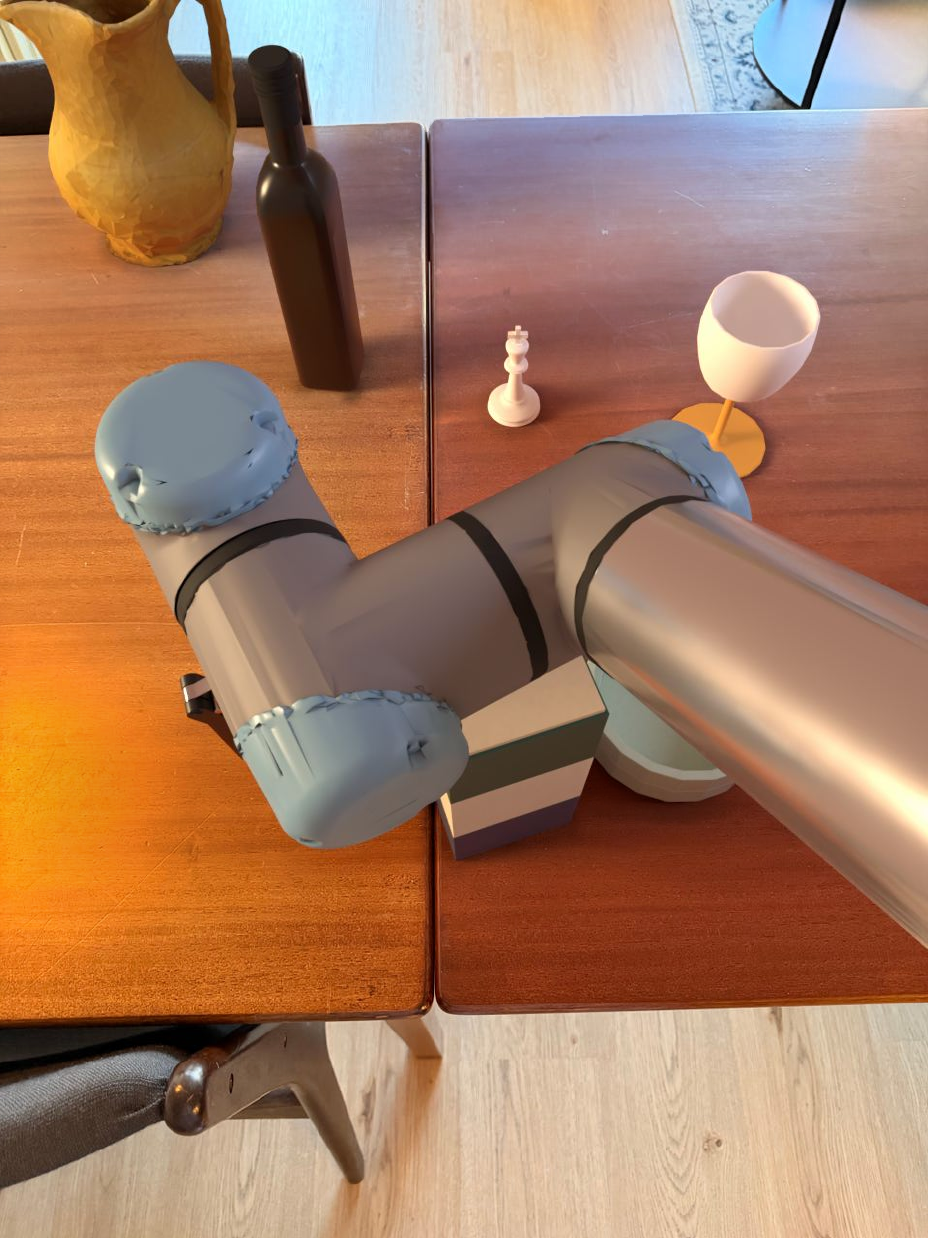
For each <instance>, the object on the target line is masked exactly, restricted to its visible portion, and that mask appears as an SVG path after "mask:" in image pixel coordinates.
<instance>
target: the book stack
mask: <svg viewBox="0 0 928 1238" xmlns="http://www.w3.org/2000/svg"><path fill="white" fill-rule="evenodd" d="M582 656H583V655H582ZM583 658H584V661H585V663H586V665H587V668H588V670H589V672H590V674H591V677H592V679H593V681H594V684H595V686H596V688H597V690H598V693H599V695H600V697H601V700H602V702H603V704H604V707H605V712H602V713H599V714H596V715H593V716H590V717H587V718H584V719H581V720H578V721H575V722H572V723H569V724H566V725H562V726H559V727H556V728H553V729H550V730H547V731H544V732H541V733H538V734H535V735H532V736H529V737H526V738H523V739H519V740H516V741H513V742H510V743H507V744H504V745H501V746H498V747H495V748H492V749H489V750H486V751H483V752H480V753H476V754H473V755H470V756H469V759H468V762H467V765H466V767H465V770H464V772H463V774H462V775H461V776H460V778H459V779H458V780H457V782H456V783H455V784H454V785H453V786H452V788H451V789H450V790H448V791H447V792H446V793H445V794H444V795H443V796H442V797H441V798H439V799H438V800H436V801H435V802H436V805H437V808H438V812H439V814H440V817H441V821H442V824H443V827H444V830H445V833H446V836H447V840H448V842H449V845H450V848H451V852H452V855H453V857H454V861H455V862H458V861H459V862H460V861H461V860H464V859H467V858H470V857H473V856H476V855H478V854H479V855H480V854H482V853H485V852H488V851H491V850H494V849H497V848H499V847H502V846H505V845H509V844H511V843H514V842H517V841H520V840H522V839H523V840H524V839H526V838H529V837H532V836H535V835H537V834H540V833H543V832H546V831H550V830H553V829H555V828H558V827H560V826H564V825H566V824H567V825H568V824H569V823H571V822H572V820H573V817H574V814H575V811H576V810H577V809H576V808H577V805H578V803H579V800H580V798H581V795H582V792H583V789H584V786H585V783H586V780H587V778H588V775H589V772H590V769H591V766H592V764H593V761H594V758H595V757H594V756H595V753H596V750H597V748H598V745H599V742H600V739H601V737H602V734H603V731H604V728H605V725H606V723H607V720H608V717H609V712H608V709H607V707H606V705H605V702H604V700H603V698H602V696H601V693H600V691H599V689H598V686H597V684H596V682H595V680H594V677H593V675H592V673H591V670H590V668H589V666H588V664H587V662H588V660H587V658H585V657H584V656H583Z"/></svg>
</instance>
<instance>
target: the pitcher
mask: <svg viewBox="0 0 928 1238" xmlns="http://www.w3.org/2000/svg"><path fill="white" fill-rule="evenodd" d="M181 1H182V0H0V19H1V20H3V21H5V22H6V23H8V24H10V25H12V26H13V27H15V28H16V29H17V30H19V31H20V33H22V34H23V35H24V36H25V37H26V38H27V39H28V40H30V42H31V43H32V44H33V45H34V47H35V48H36V50H37V51H38V53H39V54H40V56H41V58H42V59H43V61H44V63H45V65H46V68H47V70H48V73H49V75H50V78H51V81H52V85H53V89H54V105H53V107H54V108H53V112H52V117H51V122H50V126H49V127H50V128H49V134H48V138H49V139H48V153H47V155H48V160H49V166H50V170H51V173H52V177H53V179H54V181H55V183H56V186H57V187H58V190H59V192H60V195H61V197H62V199H64V200H65V201H66V202H67V204H68V206H69V208H70V209H71V210H72V212H73V213H74V214H75V215H76V216H77V217H78V218H79V219H80V220H81V221H82V222H84V223H87V224H88V225H91V226H92V227H94V228H95V229H96V230H99V231H100V232H101V233H104V234H105V238H104V240H105V242H106V243H105V245H106V247H107V249H108V251H109V253H110V254H112V255H114V256H115V257H118V258H121V259H122V260H123V261H126V263H127V262H128V263H132V264H135V265H140V266H141V265H142V266H144V267H148V268H153V267H157V268H158V267H162V266H174V265H175V264H176V265H183V264H184V263H188V262H193V261H194V260H196V259H197V258H198V257H199V256H201V255H202V254H203V253H206V252H207V251H208V249H209V248H211V247H212V245H215V244H216V241H217V239H218V237H219V235H220V233H221V231H222V227H223V225H224V221H223V220H224V217H223V214H224V213H225V211H226V209H227V205H228V203H229V199H230V195H231V192H232V188H233V175H232V172H233V168H234V163H235V157H234V148H235V138H236V135H237V133H238V127H237V125H238V120H237V111H236V104H235V99H234V93H235V87H236V84H235V81H234V76H233V54H232V49H231V41H230V35H229V29H228V25H227V17H226V15H225V11H224V6H223V2H222V0H195V1H196V2H197V3H198V4H200V5H201V6H202V9H203V14H204V18H205V21H206V25H207V35H208V40H209V49H210V63H211V64H210V65H211V66H210V67H211V81H212V94H213V99H207V98H206V97H205V96H204V95H203V94H202V93H201V92H200V91H198V90H197V88H196V87H195V86H194V84H192V83H191V81H189V80H188V78H187V77H186V76H185V74H184V73H183V71H182V69H181V68H180V66H179V65H178V64H179V63H177V61H176V58H175V55H174V53H173V49H172V47H171V45H170V42H169V29H170V21H171V19H172V18H173V16H174V14H175V12H176V9H177V7H178V6H179V4H180V2H181Z"/></svg>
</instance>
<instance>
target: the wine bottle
mask: <svg viewBox="0 0 928 1238" xmlns="http://www.w3.org/2000/svg"><path fill="white" fill-rule="evenodd" d="M247 65H248V69H249V70H248V71H249V73H250V75H251V81H252V88H253V91H254V93H255V95H256V96H257V99H258V105H259V109H260V115H261V118H262V123H263V127H264V132H265V136H266V141H267V145H268V151H269V152H268V154H267V155H266V156H265V158H264V161H263V163H262V166H261V169H260V171H259V172H258V176H257V181H256V185H255V205H256V215H257V217H258V223H259V226H260V230H261V234H262V237H263V241H264V245H265V250H266V254H267V258H268V262H269V265H270V269H271V274H272V277H273V281H274V286H275V289H276V293H277V297H278V300H279V305H280V310H281V314H282V317H283V321H284V325H285V329H286V332H287V336H288V340H289V345H290V349H291V352H292V353H291V354H292V356H293V361H294V364H295V367H296V373H297V376H298V381H299V383H300V384H301V385H302V387H304V388H306V389H311V390H323V391H334V392H342V393H346V392H347V393H348V392H352V391H353V390H355V389H357V388H356V387H357V386H358V385H359V381H360V377H361V372H362V369H363V365H364V362H365V361H364V360H365V357H366V355H365V347H364V341H363V335H362V329H361V323H360V315H359V309H358V303H357V297H356V290H355V284H354V277H353V271H352V264H351V258H350V252H349V251H350V250H349V244H348V238H347V233H346V232H347V231H346V227H345V225H346V224H345V220H344V211H343V206H342V199H341V194H340V186H339V180H338V177H337V174H336V171H335V169H334V167H333V165H332V164H331V162H329V160H327V158H326V157H325V156H324V155H323V154H322V153H321V152H319V151H317V150H315V149H314V148H312V147H310V146H307V141H306V136H305V131H304V130H305V129H304V125H303V120H302V113H301V109H300V103H299V98H298V93H297V90H298V79H297V76H296V73H295V66H294V58H293V54H292V52H291V51H290V50H289V49H288V48H286V47H284V46H282V45H278V44H267V45H262V46H259V47H257V48H255V49H253V50H252V51H251V52H250V54H248V56H247Z"/></svg>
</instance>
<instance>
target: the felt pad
mask: <svg viewBox="0 0 928 1238" xmlns="http://www.w3.org/2000/svg"><path fill="white" fill-rule="evenodd" d="M602 712H605V707H604V704H603V702H602V700H601V697H600V695H599V693H598V690H597V688H596V686H595V684H594V681H593V679H592V677H591V674H590V672H589V670H588V668H587V665H586V663H585V661H584V658H583V656H582V655H581V656H579V657H578V658H576V659H574V660H572V661H570V662H568V663H566V664H564V665H562V666H560V667H558V668H556V669H554V670H552V671H550V672H548V673H546V674H544V675H543V676H541V677H540V678H538V679H536V680H534V681H532V682H530V683H529V684H528V685H526V686H524V687H522V688H520V689H518V690H516V691H514V692H513V693H511V694H509V695H507V696H505V697H503V698H501V699H500V700H498V701H496V702H494V703H492V704H490V705H488V706H487V707H485V708H483V709H481V710H479V711H477V712H476V713H474V714H472V715H470V716H468V717H466V718H465V719H463V720H461V722H462V732H463V734H464V736H465V738H466V740H467V742H468V746H469V756H470V755H473V754H476V753H480V752H483V751H486V750H489V749H492V748H495V747H498V746H501V745H504V744H507V743H510V742H513V741H516V740H519V739H523V738H526V737H529V736H532V735H535V734H538V733H541V732H544V731H547V730H550V729H553V728H556V727H559V726H562V725H566V724H569V723H572V722H575V721H578V720H581V719H584V718H587V717H590V716H593V715H596V714H599V713H602Z"/></svg>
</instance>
